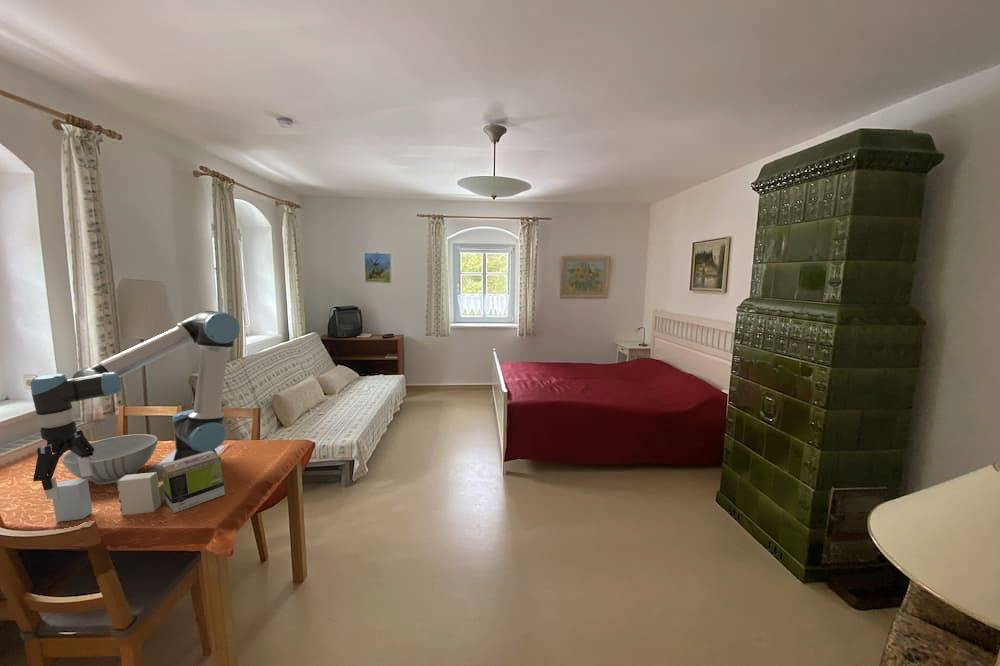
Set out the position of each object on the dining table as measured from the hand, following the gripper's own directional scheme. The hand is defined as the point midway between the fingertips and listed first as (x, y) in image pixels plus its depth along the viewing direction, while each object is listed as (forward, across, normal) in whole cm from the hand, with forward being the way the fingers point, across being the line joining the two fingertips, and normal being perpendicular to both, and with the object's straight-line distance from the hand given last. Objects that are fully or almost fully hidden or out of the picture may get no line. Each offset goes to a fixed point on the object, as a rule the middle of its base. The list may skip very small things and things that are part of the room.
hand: (70, 486), depth 128 cm
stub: (+11, +1, 0) cm, 11 cm away
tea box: (+12, -3, +32) cm, 35 cm away
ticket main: (+11, -2, +18) cm, 21 cm away
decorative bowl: (+11, -28, -6) cm, 31 cm away
